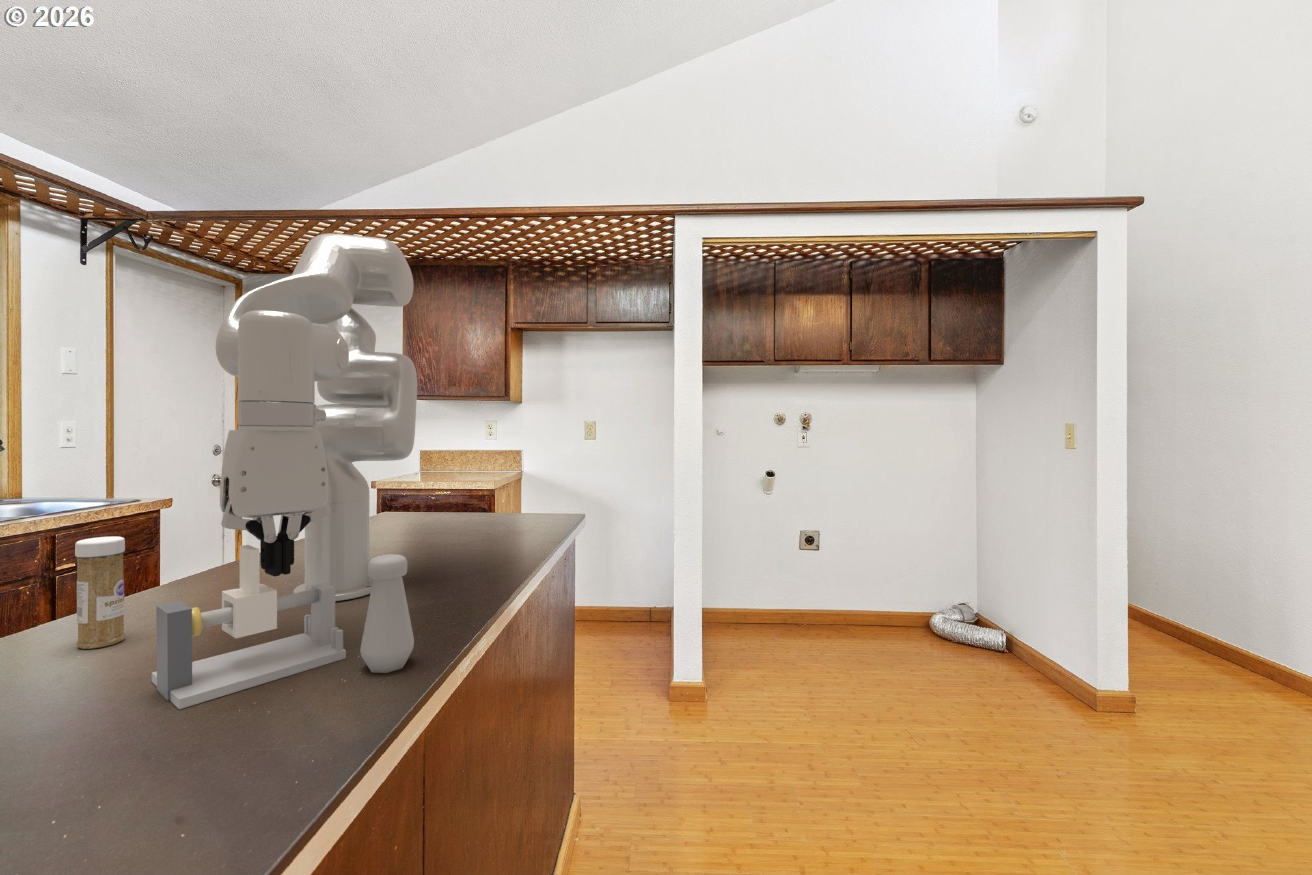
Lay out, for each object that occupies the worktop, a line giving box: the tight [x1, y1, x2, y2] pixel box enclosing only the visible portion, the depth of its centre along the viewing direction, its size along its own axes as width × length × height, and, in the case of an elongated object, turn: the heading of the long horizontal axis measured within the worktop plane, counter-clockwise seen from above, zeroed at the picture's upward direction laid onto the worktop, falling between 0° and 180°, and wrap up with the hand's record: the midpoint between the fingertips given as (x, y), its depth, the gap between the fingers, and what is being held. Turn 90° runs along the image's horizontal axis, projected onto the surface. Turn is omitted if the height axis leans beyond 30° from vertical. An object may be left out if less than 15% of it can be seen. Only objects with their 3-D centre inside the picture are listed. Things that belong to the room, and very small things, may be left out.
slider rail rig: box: [151, 583, 347, 710], centre depth 66 cm, size 16×10×9 cm, turn 143°
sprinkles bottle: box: [74, 536, 126, 650], centre depth 73 cm, size 5×5×14 cm
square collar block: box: [221, 544, 278, 639], centre depth 66 cm, size 4×4×9 cm
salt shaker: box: [359, 553, 415, 674], centre depth 67 cm, size 6×6×13 cm
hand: (277, 573), depth 68 cm, fingers closed
